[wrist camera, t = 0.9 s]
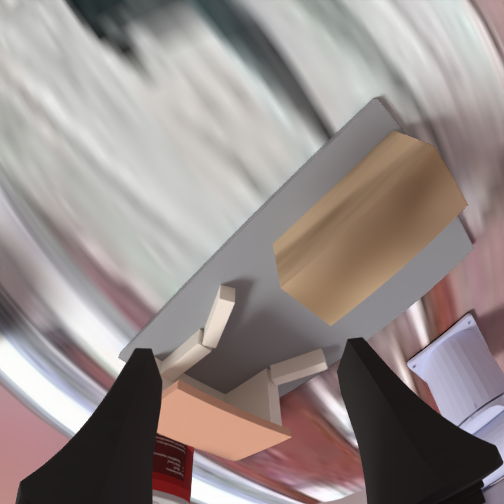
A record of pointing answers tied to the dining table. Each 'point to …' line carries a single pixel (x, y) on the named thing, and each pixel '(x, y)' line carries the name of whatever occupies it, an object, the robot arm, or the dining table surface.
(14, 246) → the dining table surface
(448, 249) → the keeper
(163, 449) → the canned food
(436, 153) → the tan cardboard block
